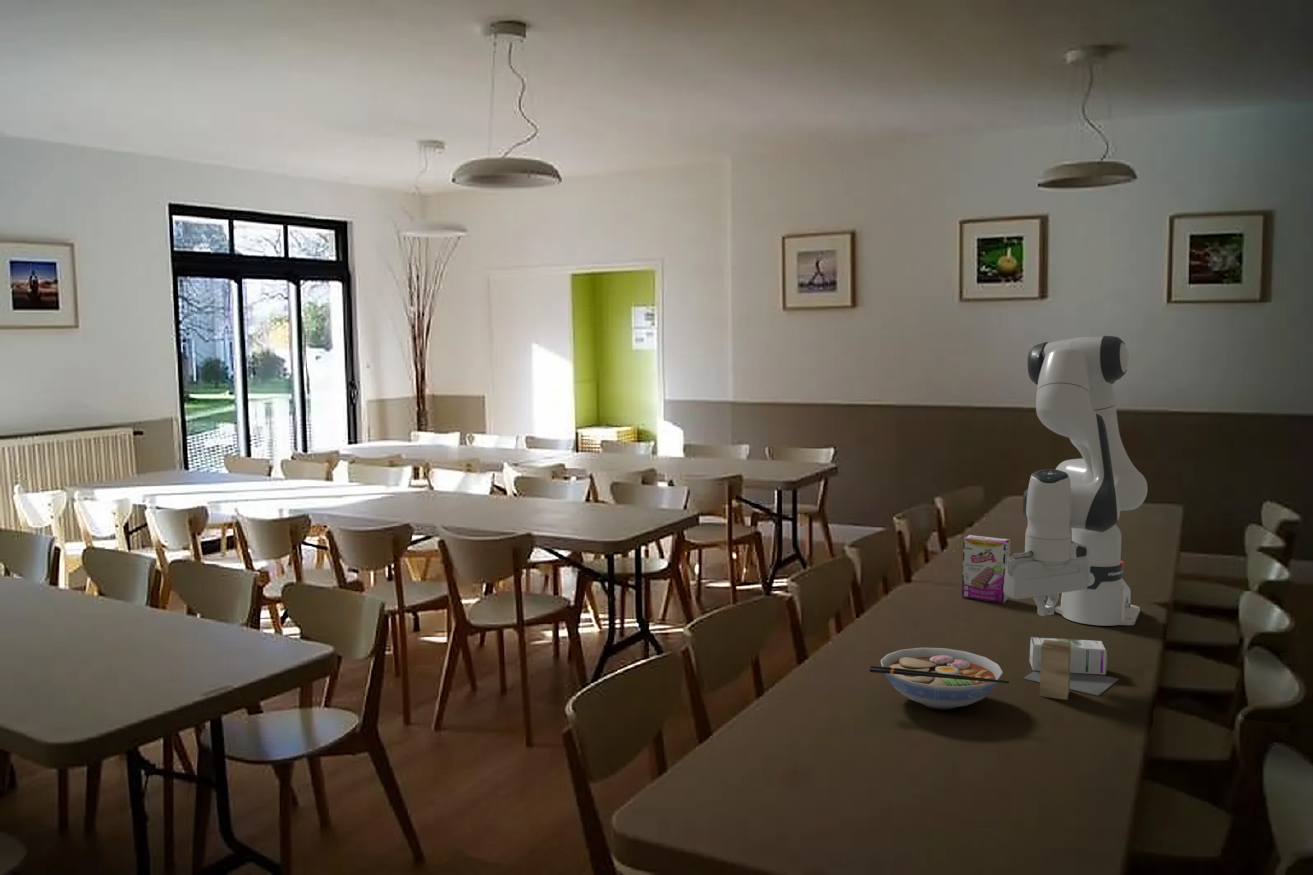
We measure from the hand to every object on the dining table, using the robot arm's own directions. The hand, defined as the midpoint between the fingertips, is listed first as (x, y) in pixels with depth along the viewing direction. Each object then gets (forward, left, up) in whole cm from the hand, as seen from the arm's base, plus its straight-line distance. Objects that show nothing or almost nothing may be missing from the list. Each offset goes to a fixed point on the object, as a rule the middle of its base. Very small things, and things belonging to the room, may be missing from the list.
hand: (1045, 614), depth 211 cm
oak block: (+10, +6, -13) cm, 17 cm away
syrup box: (-2, -4, -10) cm, 10 cm away
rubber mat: (0, +6, -13) cm, 14 cm away
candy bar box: (-47, -34, -13) cm, 59 cm away
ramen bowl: (+29, -9, -13) cm, 33 cm away
